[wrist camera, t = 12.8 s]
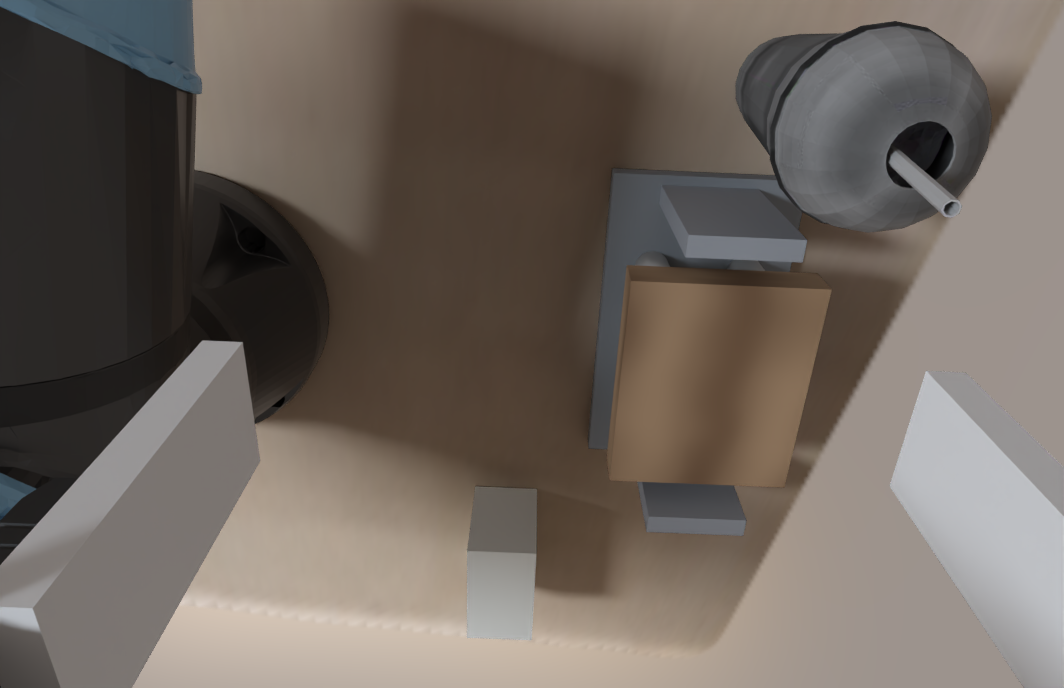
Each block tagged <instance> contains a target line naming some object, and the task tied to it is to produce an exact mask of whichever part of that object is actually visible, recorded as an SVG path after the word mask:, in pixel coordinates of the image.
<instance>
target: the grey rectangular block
mask: <svg viewBox="0 0 1064 688" xmlns="http://www.w3.org/2000/svg"><path fill="white" fill-rule="evenodd" d="M536 553H537V489H527V488H502V487H478V486H475V494H474V502H473V509H472V517H471V525H470V533H469V541H468V549H467V638H489V639H515V640H532V623H533V606H534V588H535V571H536Z"/></svg>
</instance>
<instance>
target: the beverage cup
mask: <svg viewBox="0 0 1064 688" xmlns="http://www.w3.org/2000/svg"><path fill="white" fill-rule="evenodd" d="M736 100H737V103H738V106H739V109H740V112H741V113H742V115H743V118H744V120H745V121H746V123H747V124H748V126H749V127H750V128H751V130H752V131H753V133H754V134H755V135H756V137H757V138H758V140H759V141H760V142H761V144H762V145H763V147H764V148H765V149H766V151H767V152H768V154H769V155H770V161H771V164H772V167H773V170H774V173H775V176H776V179H777V182H778V185H779V187H780V189H781V190H782V191H783V192H784V194H785V195H786V196H787V197H788V199H789V200H790V201H791V202H792V203H793V205H794V206H795V207H796V208H797V209H798V210H800V211H802V212H803V213H805V214H807V215H809V216H810V217H812V218H814V219H816V220H817V221H819V222H821V223H826V224H830V225H832V226H836V227H840V228H845V229H851V230H856V231H862V232H877V231H885V230H894V229H902V228H905V227H907V226H910V225H912V224H914V223H917V222H919V221H922V220H924V219H927V218H929V217H931V216H933V215H934V214H936V213H937V212H938V211H939V212H940V213H941V214H942V215H943V216H944V217H951V218H952V217H954V216H956V215H957V214H959V213H960V211H961V208H962V205H961V204H960V202H959V200H957V199H956V198H957V197H958V196H959V195H960V193H961V192H962V191H963V190H964V188H965V187H966V186H967V185H968V184H969V182H970V181H971V180H972V179H973V177H974V176H975V175H976V173H977V171H978V168H979V166H980V164H981V162H982V160H983V157H984V155H985V153H986V151H987V148H988V141H989V134H990V127H991V119H992V114H991V109H990V104H989V99H988V94H987V89H986V86H985V84H984V82H983V80H982V79H981V77H980V76H979V74H978V73H977V71H976V70H975V68H974V67H973V65H972V63H971V62H970V60H969V59H968V58H967V57H966V56H965V55H964V54H963V53H962V52H960V51H959V50H957V49H956V48H955V47H954V46H953V45H952V44H951V43H949V42H948V41H946V40H945V39H943V38H942V37H940V36H939V35H937V34H936V33H934V32H933V31H931V30H930V29H928V28H926V27H921V26H916V25H911V24H907V23H902V22H897V21H893V22H886V23H879V24H872V25H865V26H860V27H858V28H856V29H854V30H851V31H848V32H845V33H842V34H798V35H791V36H783V37H778V38H773V39H771V40H769V41H767V42H765V43H763V44H761V45H759V46H758V47H757V48H756V49H755V50H754V51H753V52H752V53H751V54H749V55H748V57H747V58H746V60H745V62H744V63H743V65H742V66H741V68H740V70H739V74H738V77H737V81H736Z"/></svg>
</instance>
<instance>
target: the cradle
mask: <svg viewBox="0 0 1064 688" xmlns="http://www.w3.org/2000/svg"><path fill="white" fill-rule="evenodd" d="M801 216H802V211H800V210H798V209H797V208H796V207H795V206H794V205H793V203H792V202H791V201H790V200H789V199H788V197H787V196H786V195H785V194H784V192H783V191H782V190H781V189H780V187H779V185H778V182H777V179H776V176H775V175H753V174H730V173H708V172H685V171H662V170H640V169H617V168H612V176H611V187H610V198H609V209H608V220H607V231H606V243H605V254H604V265H603V276H602V287H601V298H600V309H599V321H598V332H597V343H596V354H595V365H594V376H593V387H592V399H591V410H590V421H589V432H588V446H589V449H607V448H608V439H609V429H610V420H611V410H612V401H613V391H614V381H615V372H616V362H617V353H618V343H619V334H620V324H621V315H622V305H623V296H624V286H625V276H626V267H627V265H637V266H660V267H683V268H707V269H730V270H753V271H776V272H790V268H791V264H792V262H802V263H803V258H804V253H805V249H806V244H807V239H806V238H805V237H804V236H803V235H802V234H801V233H800V232H799V231H798V230H799V225H800V221H801ZM637 483H638V488H639V494H640V499H641V504H642V510H643V515H644V521H645V526H646V532H661V533H686V534H711V535H736V536H743V535H744V530H745V525H746V521H747V520H746V518H745V515H744V512H743V510H742V507H741V504H740V501H739V499H738V496H737V493H736V491H735V488H734V485H710V484H685V483H660V482H637Z"/></svg>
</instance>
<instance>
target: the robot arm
mask: <svg viewBox="0 0 1064 688" xmlns="http://www.w3.org/2000/svg"><path fill="white" fill-rule="evenodd" d="M201 93H202V82H201V78H200V77H199V76H198V74H197V73H196V72H195V59H194V36H193V5H192V0H0V688H132V686H133V685H134V683H135V681H136V679H137V678H138V676H139V674H140V672H141V671H142V669H143V667H144V665H145V663H146V662H147V660H148V658H149V656H150V655H151V653H152V651H153V649H154V648H155V646H156V644H157V642H158V641H159V639H160V637H161V635H162V633H163V632H164V630H165V628H166V626H167V625H168V623H169V621H170V619H171V618H172V616H173V614H174V612H175V610H176V609H177V607H178V605H179V603H180V602H181V600H182V598H183V596H184V595H185V593H186V591H187V589H188V588H189V586H190V584H191V582H192V580H193V579H194V577H195V575H196V573H197V572H198V570H199V568H200V566H201V565H202V563H203V561H204V559H205V557H206V556H207V554H208V552H209V550H210V549H211V547H212V545H213V543H214V542H215V540H216V538H217V536H218V535H219V533H220V531H221V529H222V527H223V526H224V524H225V522H226V520H227V519H228V517H229V515H230V513H231V512H232V510H233V508H234V506H235V504H236V503H237V501H238V499H239V497H240V496H241V494H242V492H243V490H244V489H245V487H246V485H247V483H248V481H249V480H250V478H251V476H252V474H253V473H254V471H255V469H256V467H257V466H258V464H259V462H260V456H259V449H258V442H257V435H256V429H255V424H256V423H258V422H260V421H262V420H264V419H266V418H268V417H269V416H271V415H272V414H274V413H276V412H277V411H279V410H280V409H281V408H283V407H284V406H285V405H286V404H287V403H288V402H289V401H291V399H292V398H293V397H294V396H295V395H296V394H297V393H298V392H299V391H300V389H301V388H302V387H303V385H304V384H305V382H306V381H307V379H308V378H309V376H310V374H311V372H312V371H313V369H314V367H315V365H316V364H317V362H318V360H319V358H320V356H321V353H322V351H323V348H324V345H325V342H326V337H327V333H328V325H329V306H328V298H327V293H326V288H325V285H324V281H323V278H322V275H321V273H320V270H319V268H318V265H317V263H316V261H315V259H314V257H313V255H312V254H311V252H310V250H309V248H308V247H307V245H306V244H305V242H304V241H303V240H302V238H301V237H300V235H299V234H298V233H297V232H296V230H295V229H294V228H293V227H292V226H291V225H290V224H289V223H288V222H287V221H286V219H285V218H284V217H283V216H281V215H280V214H279V213H278V212H277V211H276V210H275V209H274V208H272V207H271V206H270V205H269V204H267V203H266V202H265V201H263V200H262V199H260V198H259V197H258V196H256V195H254V194H253V193H251V192H249V191H248V190H246V189H244V188H242V187H240V186H238V185H236V184H234V183H232V182H230V181H227V180H225V179H222V178H219V177H217V176H214V175H210V174H207V173H203V172H199V171H194V164H195V129H196V94H201ZM890 488H891V489H892V491H893V492H894V494H895V495H896V497H897V498H898V500H899V501H900V503H901V504H902V506H903V507H904V509H905V510H906V512H907V513H908V515H909V516H910V518H911V519H912V521H913V522H914V524H915V525H916V527H917V528H918V530H919V531H920V533H921V534H922V535H923V537H924V539H925V540H926V542H927V543H928V545H929V546H930V548H931V549H932V551H933V552H934V554H935V555H936V557H937V558H938V560H939V561H940V563H941V564H942V566H943V567H944V569H945V570H946V572H947V573H948V575H949V576H950V578H951V579H952V581H953V582H954V584H955V585H956V587H957V588H958V590H959V591H960V593H961V594H962V596H963V597H964V599H965V600H966V602H967V603H968V605H969V606H970V608H971V609H972V611H973V612H974V614H975V615H976V617H977V618H978V620H979V621H980V623H981V624H982V626H983V627H984V629H985V630H986V632H987V633H988V635H989V636H990V638H991V639H992V641H993V642H994V644H995V645H996V647H997V648H998V650H999V651H1000V653H1001V654H1002V656H1003V657H1004V659H1005V660H1006V662H1007V663H1008V665H1009V666H1010V668H1011V669H1012V671H1013V672H1014V674H1015V675H1016V677H1017V678H1018V680H1019V681H1020V683H1021V685H1022V686H1023V687H1024V688H1064V467H1063V466H1062V465H1061V464H1060V463H1059V462H1058V461H1057V460H1056V459H1055V458H1054V457H1053V456H1052V455H1051V454H1050V453H1049V452H1048V451H1047V450H1046V449H1045V448H1044V447H1043V446H1042V445H1040V444H1039V443H1038V442H1037V441H1036V440H1035V439H1034V438H1033V437H1032V436H1031V435H1030V434H1029V433H1028V432H1027V431H1026V430H1025V429H1024V428H1023V427H1022V426H1021V425H1020V424H1018V422H1017V421H1016V420H1015V419H1014V418H1012V417H1011V416H1010V415H1009V414H1008V413H1007V412H1006V411H1005V410H1004V409H1003V408H1002V407H1001V406H1000V405H999V404H998V403H997V402H996V401H995V400H994V399H993V398H992V397H991V396H990V395H989V394H988V393H987V392H986V391H984V390H983V389H982V388H981V387H980V386H979V385H978V384H977V383H976V382H975V381H974V380H973V379H972V378H971V377H970V376H969V375H968V374H967V373H964V372H941V371H926V373H925V376H924V380H923V383H922V386H921V389H920V392H919V395H918V398H917V402H916V405H915V408H914V411H913V414H912V417H911V420H910V424H909V427H908V430H907V433H906V436H905V439H904V442H903V446H902V449H901V452H900V455H899V458H898V461H897V465H896V468H895V471H894V474H893V477H892V480H891V483H890Z"/></svg>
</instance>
